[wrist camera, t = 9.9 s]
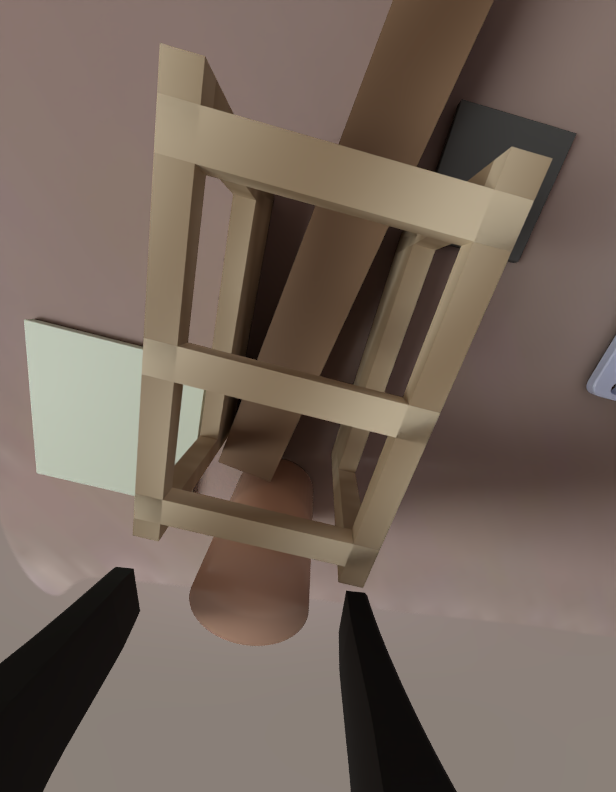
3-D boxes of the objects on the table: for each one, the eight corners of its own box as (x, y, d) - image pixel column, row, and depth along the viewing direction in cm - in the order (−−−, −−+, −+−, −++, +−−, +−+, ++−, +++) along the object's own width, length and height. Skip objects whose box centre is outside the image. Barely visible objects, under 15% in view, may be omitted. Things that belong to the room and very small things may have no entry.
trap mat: (569, 138, 10) (576, 133, 10) (513, 262, 11) (518, 262, 11) (457, 105, 10) (461, 99, 9) (414, 235, 11) (416, 233, 11)
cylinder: (317, 463, 15) (315, 569, 9) (309, 525, 16) (302, 652, 10) (239, 453, 15) (187, 553, 9) (237, 516, 16) (190, 638, 10)
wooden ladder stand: (419, 236, 11) (552, 158, 5) (344, 457, 14) (363, 587, 8) (256, 191, 11) (159, 42, 4) (218, 426, 14) (132, 535, 8)
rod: (484, 1, 9) (537, -95, 7) (278, 453, 15) (270, 481, 13) (417, -38, 9) (450, -150, 7) (234, 436, 15) (218, 462, 12)
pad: (210, 363, 13) (207, 365, 13) (191, 503, 16) (187, 508, 15) (32, 318, 13) (24, 319, 12) (43, 468, 15) (36, 473, 15)
